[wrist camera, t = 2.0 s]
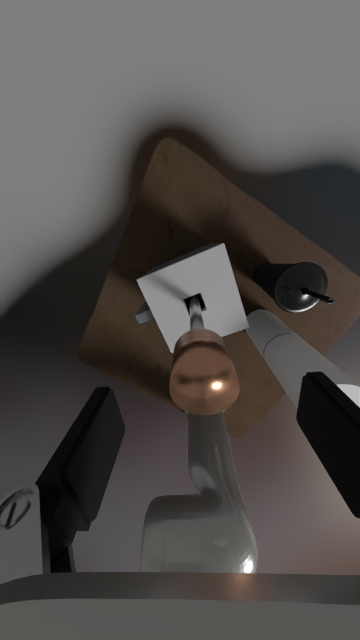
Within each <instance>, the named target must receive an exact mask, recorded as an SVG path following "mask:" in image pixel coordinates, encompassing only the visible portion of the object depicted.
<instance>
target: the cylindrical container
mask: <svg viewBox="0 0 360 640" xmlns="http://www.w3.org/2000/svg"><path fill="white" fill-rule="evenodd" d="M246 318H247V322H248V325H249V328H247V329H245V331H246V332H247V334H248V335H249V337H250V338H251V340H252V341H253V343H254V344H255V346H256V347H257V349H258V350H259V352H260V354H261V355H262V357H263V358H264V360H265V361H266V363H267V364H268V366H269V367H270V369H271V370H272V372H273V373H274V375H275V376H276V378H277V379H278V381H279V382H280V384H281V385H282V387H283V388H284V390H285V391H286V393H287V394H288V396H289V397H290V399H291V400H292V402H293V403H294V405H295V406H296V408H297V409H298V403H299V396H300V390H301V383H302V377H303V376H305V375H306V373H307V372H317V371H321V372H323V373H324V374H325V375H326V376H327V377H328V378H330V379H331V380H332V381H333V382H334V383H335V384H336V385H337V386H338V387H339V388H340V389H341V390H342V391H343V392H344V393H345V394H346V395H347V396H348V397H349V398H350V399H351V400H352V401H353V402H354V403H355V404H356V405H358V406H359V407H360V386H359V385H357V384H356V383H355V382H354V381H353V380H351V379H350V378H349V377H348V376H346V375H345V374H344V373H343V372H342V371H340V370H339V369H338V368H337V367H336V366H334V365H333V364H332V363H331V362H330V361H328V360H327V359H326V358H325V357H324V356H322V355H321V354H320V353H319V352H318V351H316V350H315V349H314V348H313V347H312V346H310V345H309V344H308V343H307V342H306V341H304V340H303V339H302V338H301V337H300V336H298V335H297V334H296V333H295V332H293V331H292V330H291V329H290V328H289V327H287V326H286V325H285V324H284V323H283V322H281V321H280V320H279V319H278V318H277V317H275V316H274V315H273V314H272V313H271V312H269V311H267V310H262V309H261V310H256V311H253V312H252V313H250V314H249V315H248V316H247V317H246Z"/></svg>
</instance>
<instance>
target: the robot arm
mask: <svg viewBox="0 0 360 640" xmlns="http://www.w3.org/2000/svg"><path fill="white" fill-rule="evenodd" d="M224 411H225V410H224ZM224 411H222V412H220V413H217V414H213V415H195V414H191V413H188V412H186V411H184V412H185V413H186V414H187V415H188V471H189V475H190V477H191V480H192V482H193V483H194V485H195V487H196V488H197V490H198V491H199V494H186V495H162V496H158V497H155V498H154V499H153V500H152V501H151V502H150V504H149V505H148V508H147V511H146V514H145V519H144V525H143V533H142V543H141V555H140V568H139V572H76V567H75V560H74V554H73V547H72V542H73V539H74V537H75V534H76V531H88V530H89V527H90V524H91V521H93V520H95V518H96V517H97V514H98V511H99V508H100V505H101V502H102V499H103V496H104V493H105V490H106V487H107V484H108V481H109V478H110V475H111V472H112V469H113V466H114V463H115V460H116V457H117V454H118V451H119V448H120V445H121V442H122V439H123V436H124V433H125V425H124V422H123V419H122V416H121V413H120V410H119V407H118V404H117V401H116V398H115V395H114V392H113V390H112V389H110V388H109V387H97V388H96V389H95V390H94V392H93V393H92V395H91V396H90V398H89V400H88V401H87V403H86V404H85V406H84V407H83V409H82V411H81V412H80V414H79V416H78V417H77V419H76V420H75V421H74V423H73V425H72V426H71V428H70V429H69V431H68V432H67V434H66V436H65V437H64V439H63V440H62V442H61V444H60V445H59V447H58V448H57V450H56V451H55V453H54V455H53V456H52V458H51V459H50V461H49V462H48V464H47V466H46V467H45V469H44V470H43V472H42V474H41V475H40V477H39V478H38V480H37V481H36V483H35V484H32V483H28V484H24V485H21V486H20V487H17V488H16V489H14V490H13V491H11V492H10V493H9V494H7V495H6V496H5V497H4V498H3V499H2V500H1V501H0V640H360V576H359V575H310V574H309V575H307V574H255V572H256V569H257V564H258V550H257V544H256V539H255V535H254V531H253V528H252V524H251V521H250V518H249V516H248V513H247V510H246V507H245V504H244V501H243V498H242V495H241V491H240V488H239V484H238V480H237V476H236V472H235V467H234V463H233V458H232V453H231V448H230V443H229V439H228V434H227V429H226V424H225V419H224V414H223V413H224ZM296 418H297V422H298V424H299V426H300V428H301V429H302V431H303V433H304V434H305V436H306V438H307V439H308V441H309V443H310V444H311V446H312V448H313V449H314V451H315V453H316V454H317V456H318V458H319V459H320V461H321V463H322V464H323V466H324V468H325V469H326V471H327V472H328V474H329V476H330V477H331V479H332V481H333V482H334V484H335V486H336V487H337V489H338V491H339V492H340V494H341V495H342V497H343V499H344V501H345V502H346V504H347V506H348V507H349V509H350V510H351V512H352V513H353V515H354V516H355V517H357V518H360V407H359V406H358V405H356V404H355V403H354V402H353V401H352V400H351V399H350V398H349V397H348V396H347V395H346V394H345V393H344V392H343V391H342V390H341V389H340V388H339V387H338V386H337V385H336V384H335V383H334V382H333V381H332V380H331V379H330V378H328V377H327V376H326V375H325V374H324V373H323V372H321V371H317V372H307V373H306V375H305V376H303V377H302V383H301V390H300V396H299V403H298V409H297V416H296Z"/></svg>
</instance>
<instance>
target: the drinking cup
mask: <svg viewBox="0 0 360 640" xmlns="http://www.w3.org/2000/svg"><path fill="white" fill-rule="evenodd" d="M254 279H255V282H256V283H257V284H258V285H259V286H260V287H261V288H262V289H263V290H264V291H265V292H266V293H267V294H268V295H269V296H270V297H271V298H273V299H274V301H275V303H276V304H277V306H278V307H279V308H281V309H282V310H284V311H286V312H290V313H300V312H304V311H307V310H309V309H311V308H313V307H314V306H315V305H317V304H318V303H319V302H320V300H321V301H324V302H326V303H329V304H331V303H333V301H334V299H333V298H330V297H327V296H325V292H326V290H327V285H328V279H327V275H326V273H325V271H324V270H323V269H322V268H321V267H320V266H319V265H317V264H315V263H311V262H300V263H296V264H263V265H261V266H260V267H259V268H258V269H257V270H256V272H255V275H254Z"/></svg>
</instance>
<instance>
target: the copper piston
mask: <svg viewBox="0 0 360 640" xmlns="http://www.w3.org/2000/svg"><path fill="white" fill-rule="evenodd" d="M184 302H185V304H186V306H187V309H188V311H189V313H190V331H187V332H186V333H184V334H183V335H181V336H180V337H179V339H178V340H177V342H176V344H175V347H174V354H173V361H172V369H171V376H170V383H169V392H170V396H171V398H172V400H173V401H174V403H175V404H176V405H177V406H178V407H179V408H181V409H182V410H184V411H186V412H188V413H191V414H195V415H213V414H217V413H220V412H222V411H224V410H226V409H227V408H229V407H230V406H231V405H232V404H233V403H234V402H235V400H236V399H237V397H238V395H239V390H240V384H239V380H238V377H237V375H236V372H235V369H234V366H233V364H232V361H231V358H230V356H229V353H228V350H227V348H226V345H225V342H224V341H223V339H222V338H221V337H220V336H219V335H218V334H217V333H215V332H213V331H211V330H208V329H205V327H204V322H203V317H202V312H201V309H202V308H205V307H206V306H205V303H204V301H203V298H202V295H201V293H198V294H196V295H193V296H190V297H188V298H185V299H184Z"/></svg>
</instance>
